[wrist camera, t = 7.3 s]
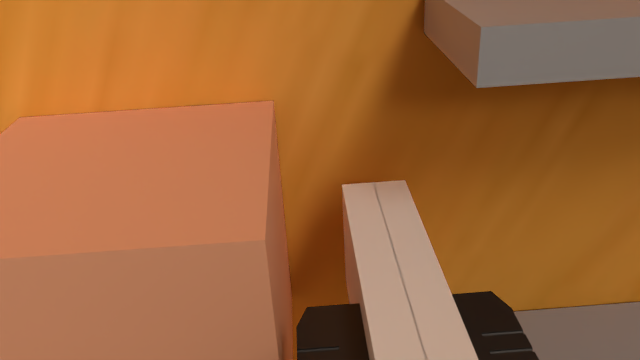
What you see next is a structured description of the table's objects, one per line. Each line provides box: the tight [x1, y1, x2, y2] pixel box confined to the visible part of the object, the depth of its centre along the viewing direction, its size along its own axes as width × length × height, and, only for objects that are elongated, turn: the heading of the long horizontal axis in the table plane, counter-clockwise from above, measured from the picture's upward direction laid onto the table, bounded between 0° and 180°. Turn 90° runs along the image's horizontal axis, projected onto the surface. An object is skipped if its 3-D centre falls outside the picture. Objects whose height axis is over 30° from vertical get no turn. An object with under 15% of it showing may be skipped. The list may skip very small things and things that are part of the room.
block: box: [0, 101, 293, 360], centre depth 12 cm, size 6×6×6 cm
